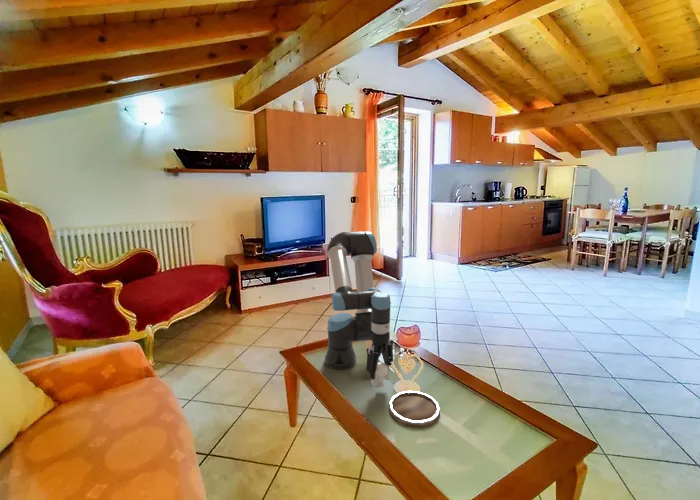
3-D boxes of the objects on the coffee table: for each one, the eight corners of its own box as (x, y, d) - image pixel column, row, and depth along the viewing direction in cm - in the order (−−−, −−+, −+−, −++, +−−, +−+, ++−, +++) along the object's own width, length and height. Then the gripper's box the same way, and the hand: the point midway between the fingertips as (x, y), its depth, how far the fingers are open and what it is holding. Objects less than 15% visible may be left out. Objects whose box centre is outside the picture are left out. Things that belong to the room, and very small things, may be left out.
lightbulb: (386, 392, 144) (386, 368, 142) (371, 390, 146) (371, 366, 143) (388, 383, 150) (388, 360, 148) (373, 381, 152) (373, 358, 149)
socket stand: (378, 409, 137) (378, 404, 136) (409, 388, 149) (410, 385, 149) (419, 434, 123) (419, 430, 123) (449, 410, 136) (449, 406, 135)
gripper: (370, 341, 133) (370, 395, 138) (403, 326, 146) (401, 376, 151) (356, 335, 139) (356, 387, 144) (389, 321, 151) (388, 369, 156)
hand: (379, 381), depth 147 cm, fingers closed on lightbulb, 6 cm apart
